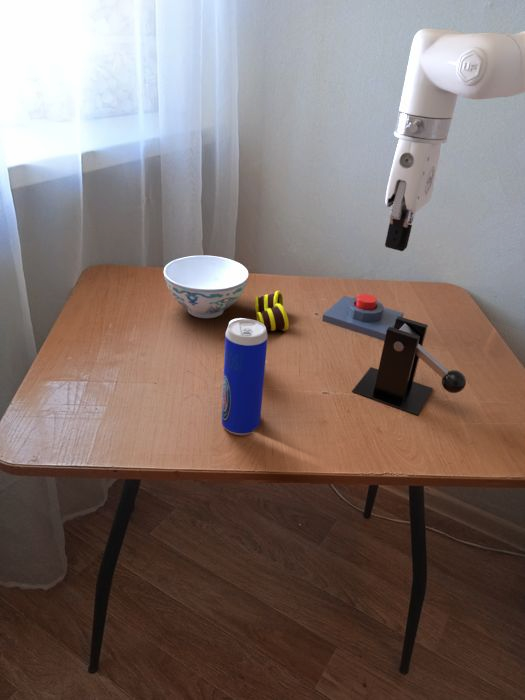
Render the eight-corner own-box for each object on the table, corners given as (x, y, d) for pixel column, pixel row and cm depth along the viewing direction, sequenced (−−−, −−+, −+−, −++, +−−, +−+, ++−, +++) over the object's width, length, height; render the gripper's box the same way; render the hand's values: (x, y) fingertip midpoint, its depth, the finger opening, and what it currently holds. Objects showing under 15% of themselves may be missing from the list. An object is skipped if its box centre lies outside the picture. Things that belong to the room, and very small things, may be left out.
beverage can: (223, 411, 78) (227, 316, 70) (260, 414, 78) (268, 319, 70) (219, 435, 73) (223, 336, 66) (258, 438, 73) (267, 339, 66)
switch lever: (457, 390, 80) (473, 377, 78) (451, 401, 78) (468, 388, 76) (394, 334, 82) (408, 319, 79) (386, 343, 79) (401, 328, 77)
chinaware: (168, 331, 96) (167, 290, 92) (161, 293, 108) (160, 256, 104) (253, 327, 99) (256, 287, 95) (237, 291, 112) (239, 254, 108)
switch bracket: (431, 394, 85) (450, 326, 79) (416, 421, 79) (435, 350, 73) (369, 372, 89) (383, 306, 83) (350, 397, 83) (364, 327, 77)
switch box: (401, 323, 105) (405, 304, 103) (384, 345, 97) (388, 325, 95) (342, 305, 110) (345, 286, 108) (321, 325, 102) (324, 305, 100)
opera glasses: (256, 313, 106) (252, 290, 103) (283, 309, 106) (281, 285, 103) (260, 339, 97) (256, 314, 95) (290, 335, 97) (287, 310, 95)
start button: (378, 306, 102) (379, 297, 101) (371, 313, 100) (373, 304, 99) (359, 300, 104) (361, 292, 103) (352, 307, 101) (353, 298, 100)
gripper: (434, 139, 74) (404, 268, 83) (459, 126, 85) (430, 240, 95) (380, 129, 76) (357, 255, 86) (411, 117, 88) (387, 230, 97)
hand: (395, 247), depth 90 cm, fingers closed
